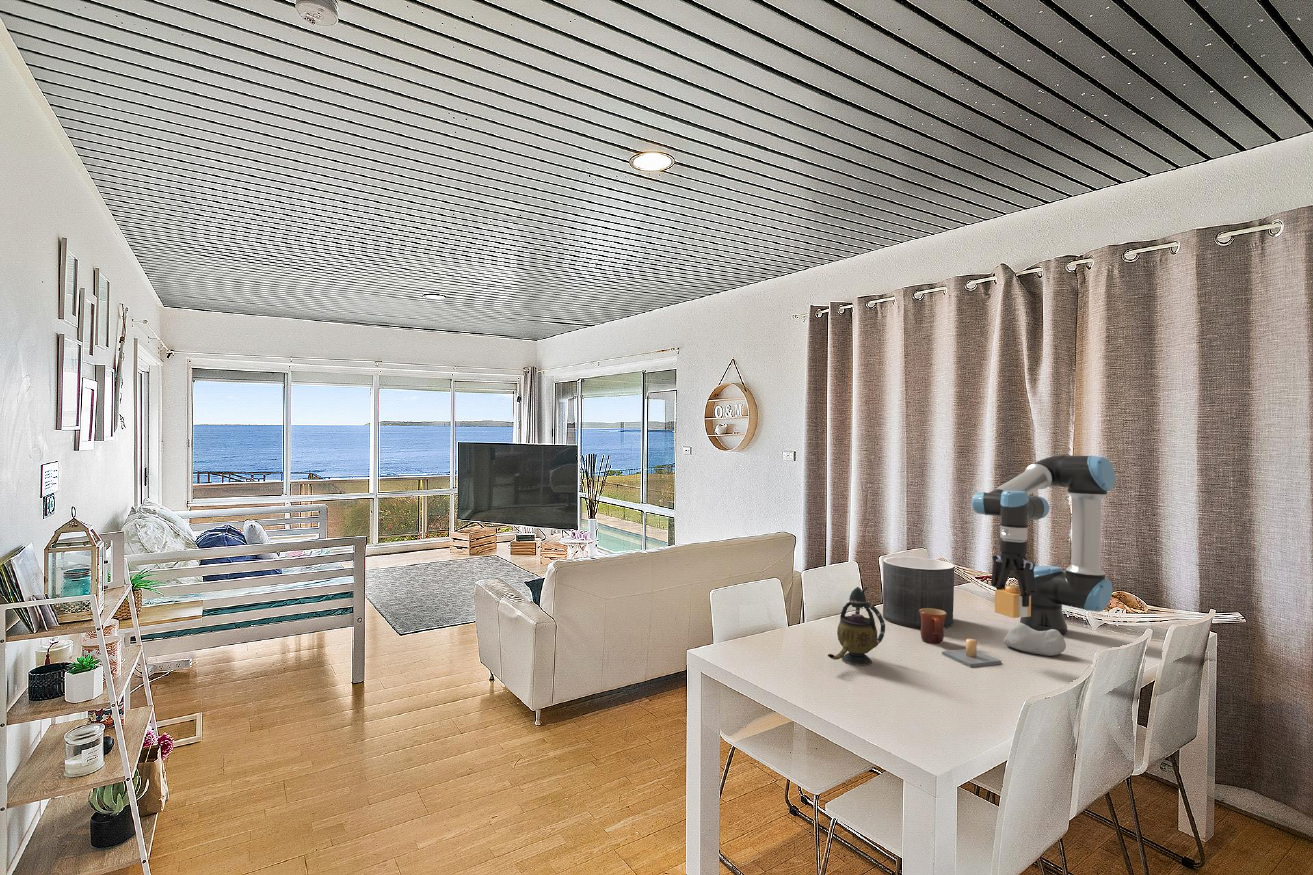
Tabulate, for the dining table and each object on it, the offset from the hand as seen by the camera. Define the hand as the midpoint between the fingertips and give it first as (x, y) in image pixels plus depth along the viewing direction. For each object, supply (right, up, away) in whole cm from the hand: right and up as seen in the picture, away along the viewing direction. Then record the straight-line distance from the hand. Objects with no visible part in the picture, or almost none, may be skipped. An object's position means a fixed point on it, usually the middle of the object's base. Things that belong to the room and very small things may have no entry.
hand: (1012, 613), depth 202 cm
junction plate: (-12, -15, +2) cm, 19 cm away
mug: (-17, -15, +19) cm, 29 cm away
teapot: (-52, -15, -4) cm, 54 cm away
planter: (-11, -16, +47) cm, 50 cm away
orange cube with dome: (0, 0, 0) cm, 0 cm away
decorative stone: (+14, -16, +12) cm, 24 cm away
